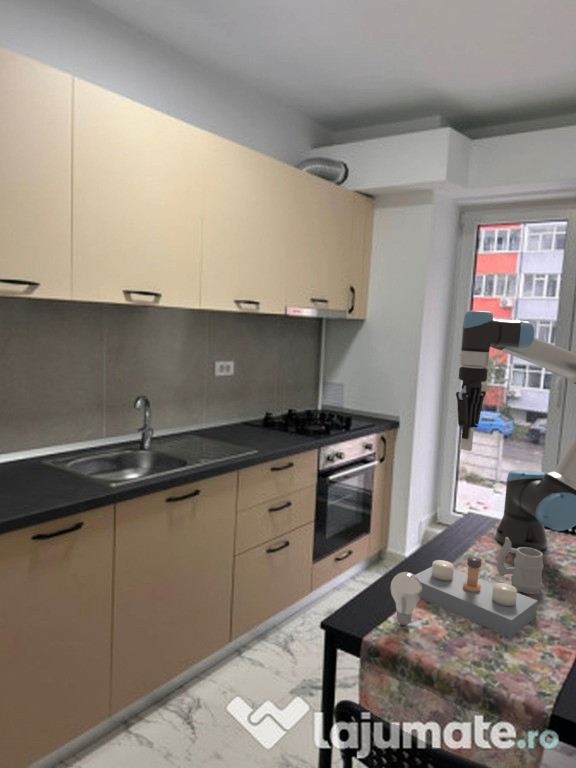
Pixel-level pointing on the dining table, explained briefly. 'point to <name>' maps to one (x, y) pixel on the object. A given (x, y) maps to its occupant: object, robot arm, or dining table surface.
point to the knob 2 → (504, 594)
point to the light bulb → (405, 595)
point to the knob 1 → (442, 570)
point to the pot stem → (472, 575)
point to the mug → (522, 568)
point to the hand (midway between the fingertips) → (466, 449)
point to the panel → (477, 603)
